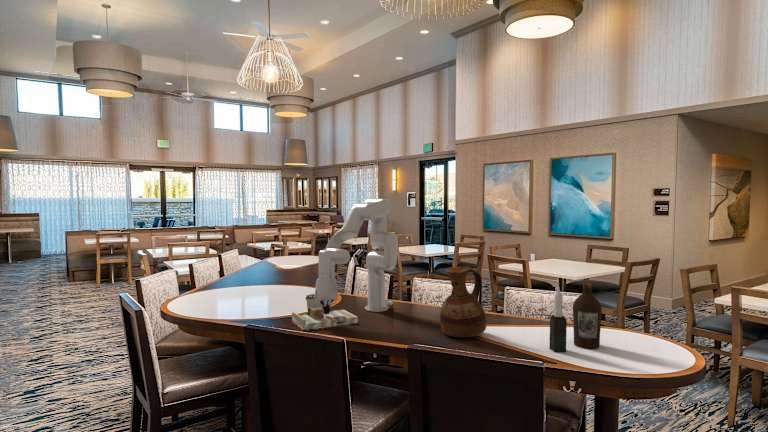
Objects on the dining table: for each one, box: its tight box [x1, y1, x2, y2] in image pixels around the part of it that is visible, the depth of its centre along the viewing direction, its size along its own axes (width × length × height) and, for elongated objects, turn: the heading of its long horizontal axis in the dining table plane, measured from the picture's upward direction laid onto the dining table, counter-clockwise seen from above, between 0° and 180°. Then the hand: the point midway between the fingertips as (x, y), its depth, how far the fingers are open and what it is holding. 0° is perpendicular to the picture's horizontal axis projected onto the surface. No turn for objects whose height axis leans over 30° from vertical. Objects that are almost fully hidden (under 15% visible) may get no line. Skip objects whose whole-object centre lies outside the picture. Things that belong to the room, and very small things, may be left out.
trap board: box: [291, 309, 359, 331], centre depth 205 cm, size 27×16×5 cm, turn 120°
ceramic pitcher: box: [439, 266, 487, 338], centre depth 187 cm, size 20×20×30 cm
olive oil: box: [572, 283, 603, 350], centre depth 173 cm, size 11×11×25 cm
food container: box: [305, 293, 327, 316], centre depth 222 cm, size 12×6×10 cm, turn 84°
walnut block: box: [309, 307, 324, 319], centre depth 204 cm, size 5×5×4 cm
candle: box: [549, 286, 568, 353], centre depth 167 cm, size 5×5×25 cm
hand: (326, 313), depth 206 cm, fingers closed
